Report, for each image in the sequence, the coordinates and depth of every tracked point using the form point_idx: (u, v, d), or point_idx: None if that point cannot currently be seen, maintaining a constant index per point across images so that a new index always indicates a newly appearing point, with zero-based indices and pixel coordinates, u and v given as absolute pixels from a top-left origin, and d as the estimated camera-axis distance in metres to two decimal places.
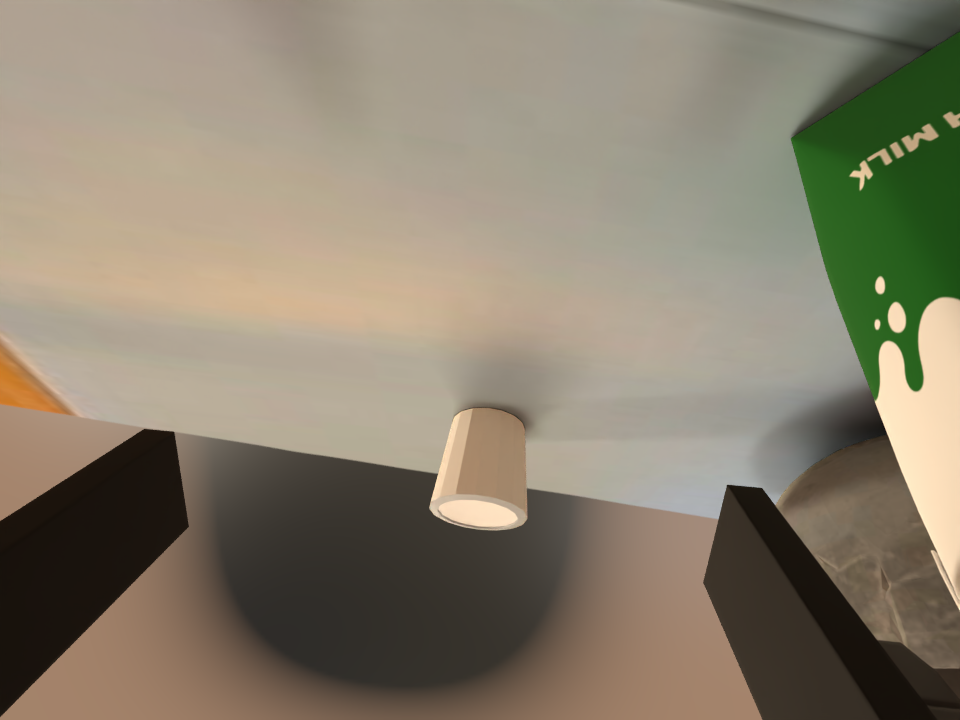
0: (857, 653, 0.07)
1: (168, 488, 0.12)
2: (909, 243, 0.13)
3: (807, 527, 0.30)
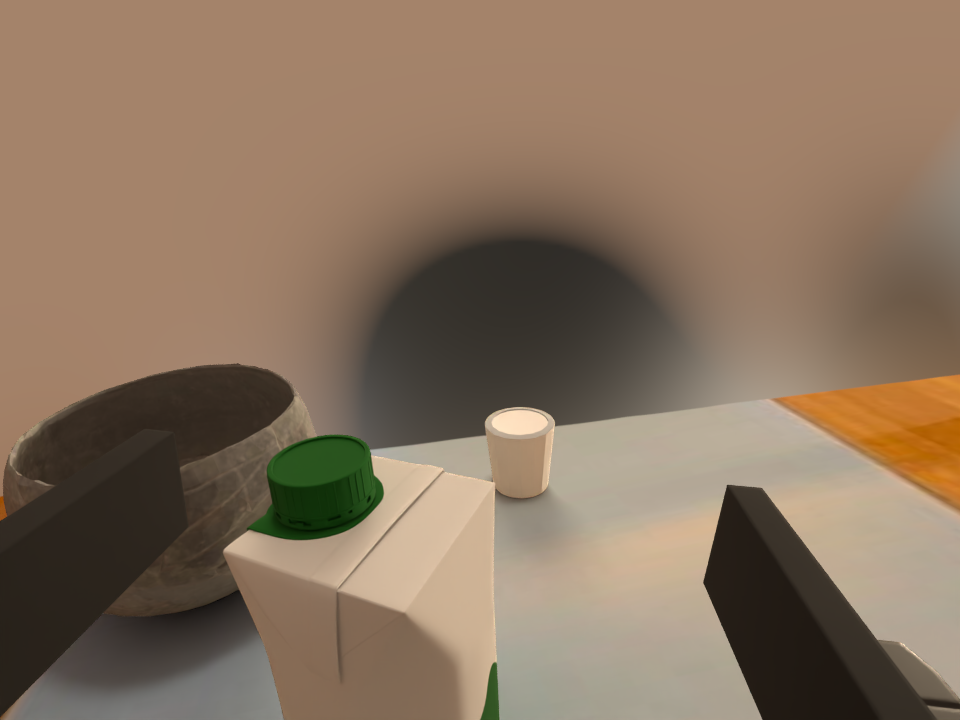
0: (857, 653, 0.07)
1: (168, 488, 0.12)
2: None
3: None
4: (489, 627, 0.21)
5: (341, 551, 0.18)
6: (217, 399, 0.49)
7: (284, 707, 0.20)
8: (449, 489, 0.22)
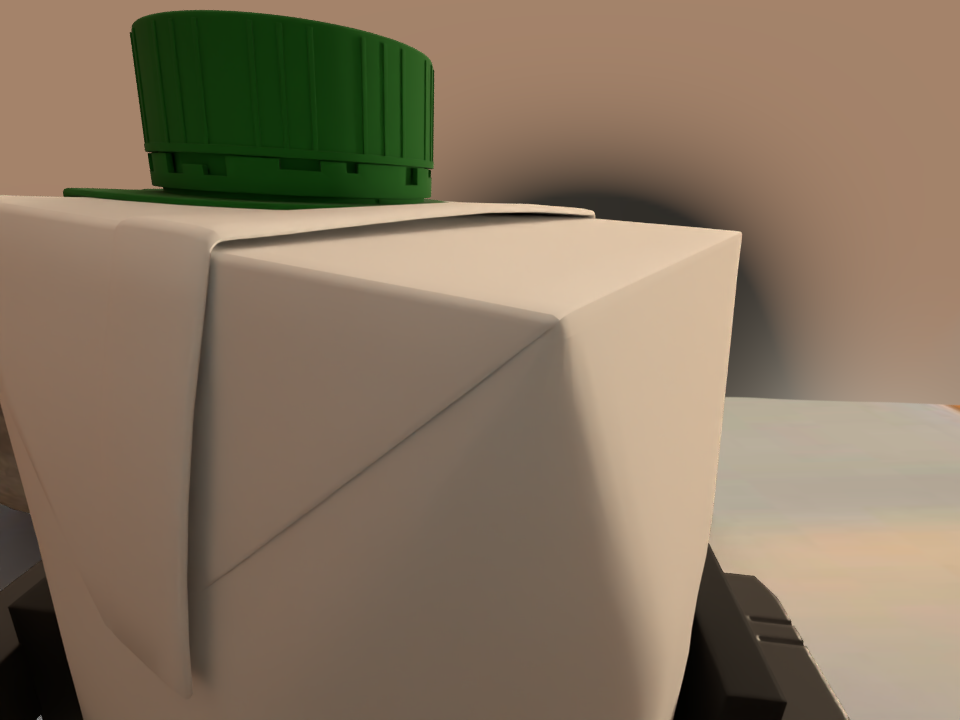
0: None
1: None
2: None
3: None
4: None
5: (293, 210, 0.05)
6: None
7: None
8: (622, 224, 0.08)
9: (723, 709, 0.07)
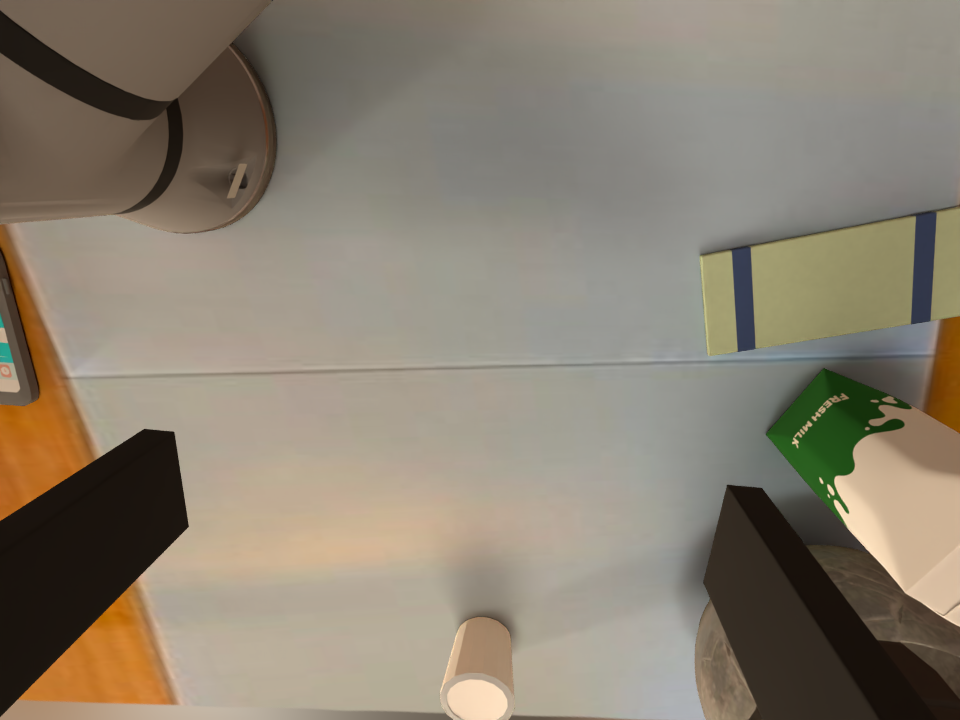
0: (857, 653, 0.07)
1: (168, 488, 0.12)
2: (819, 462, 0.36)
3: (698, 644, 0.42)
4: (872, 491, 0.31)
5: None
6: None
7: None
8: (947, 592, 0.27)
9: None
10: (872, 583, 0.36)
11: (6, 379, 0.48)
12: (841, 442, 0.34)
